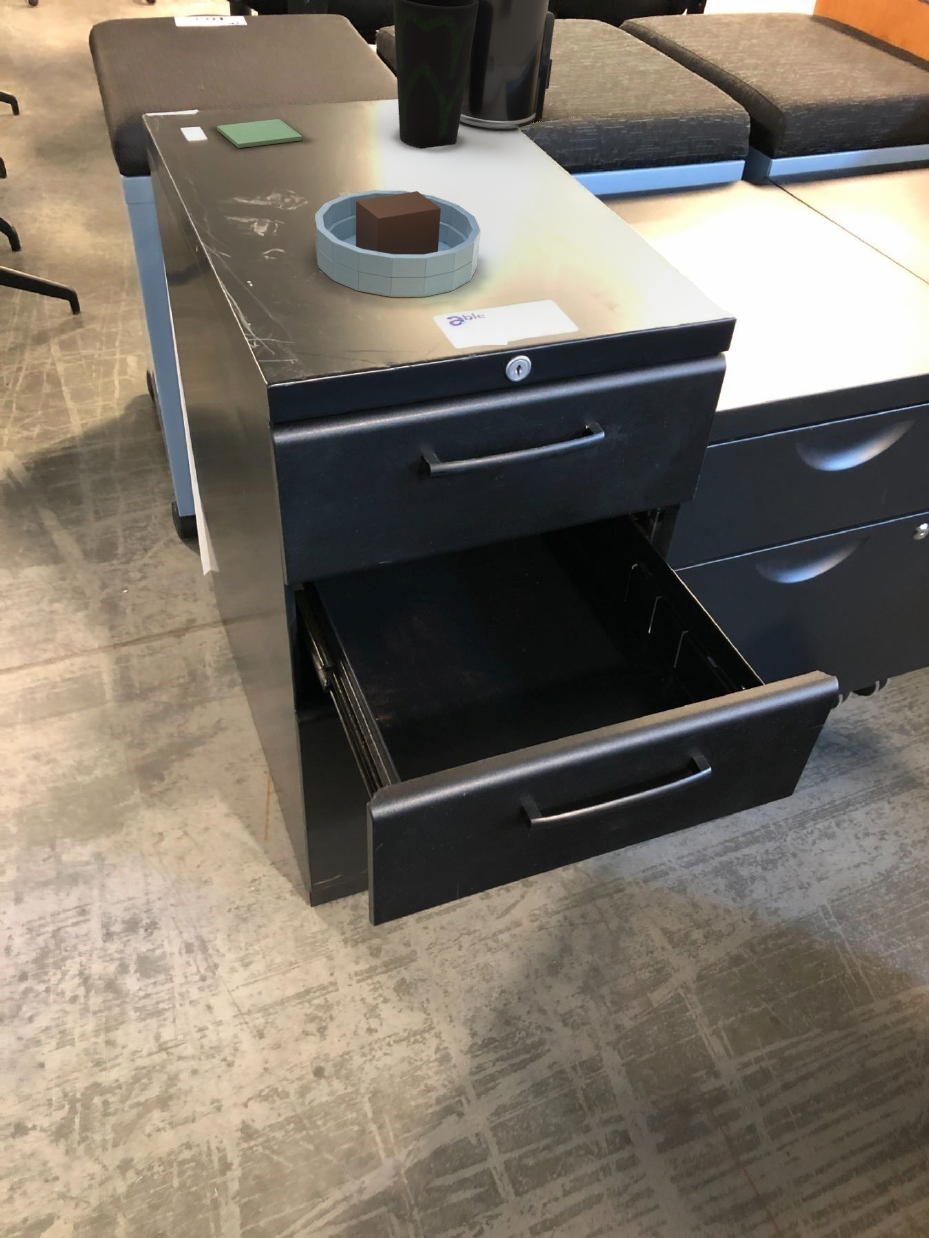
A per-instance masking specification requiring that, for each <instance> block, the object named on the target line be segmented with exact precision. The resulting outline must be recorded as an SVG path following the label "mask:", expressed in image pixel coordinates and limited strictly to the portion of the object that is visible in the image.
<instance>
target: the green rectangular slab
mask: <svg viewBox="0 0 929 1238" xmlns="http://www.w3.org/2000/svg"><path fill="white" fill-rule="evenodd" d="M216 131H217V132H218V133H220V135H222V136H224V137H225V138H226V139H227V140H228V141H229V142H231V143H232V144H233V145H234V146H235V147H236V148H238V149H243V148H251V147H258V146H259V147H260V146H267V145H275V144H283V143H284V144H285V143H293V142H299V141H303V136H302V135H301V134H300V133H298V132H297V131H296V130H295V129H293V128H292V127H290V126H289V125H288V124H287V123H286V122H284V121H282V120H281V119H280V118H277V119H266V120H258V121H248V122H239V123H229V124H220V125H217V126H216Z"/></svg>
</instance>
